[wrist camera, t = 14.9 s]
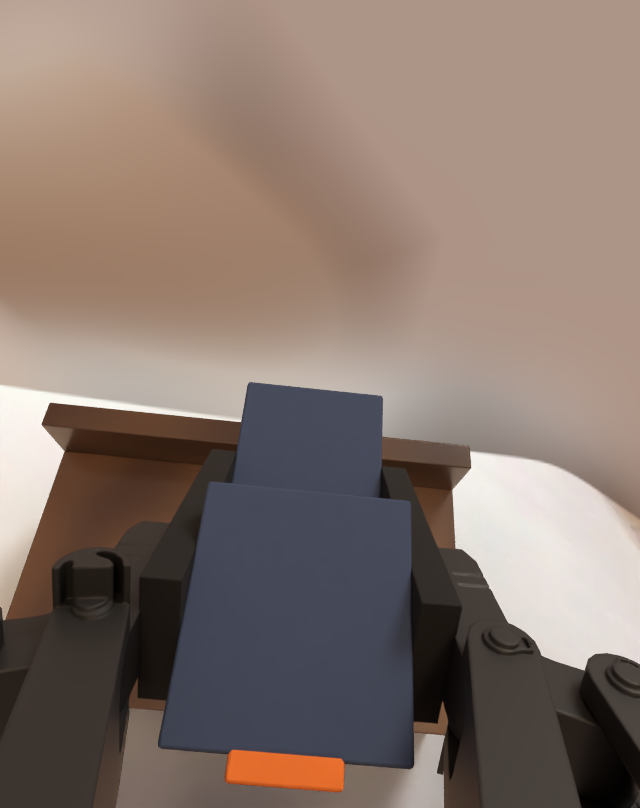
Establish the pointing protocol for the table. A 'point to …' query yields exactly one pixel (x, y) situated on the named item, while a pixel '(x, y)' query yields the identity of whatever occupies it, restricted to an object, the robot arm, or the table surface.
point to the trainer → (298, 601)
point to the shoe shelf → (176, 491)
